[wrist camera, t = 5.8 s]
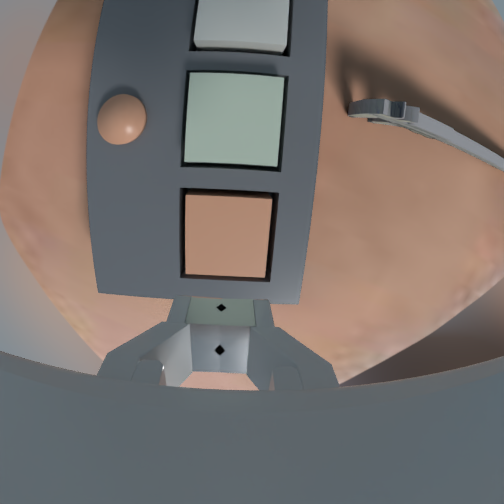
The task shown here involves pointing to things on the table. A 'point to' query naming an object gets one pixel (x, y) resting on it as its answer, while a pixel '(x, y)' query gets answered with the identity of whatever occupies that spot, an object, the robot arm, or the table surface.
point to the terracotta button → (227, 232)
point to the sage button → (233, 118)
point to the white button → (242, 26)
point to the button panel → (173, 150)
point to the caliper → (420, 126)
